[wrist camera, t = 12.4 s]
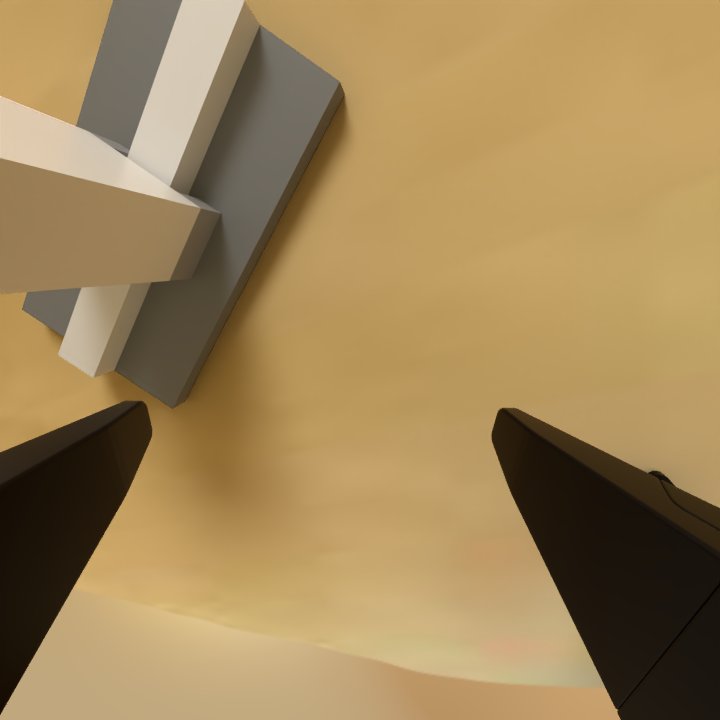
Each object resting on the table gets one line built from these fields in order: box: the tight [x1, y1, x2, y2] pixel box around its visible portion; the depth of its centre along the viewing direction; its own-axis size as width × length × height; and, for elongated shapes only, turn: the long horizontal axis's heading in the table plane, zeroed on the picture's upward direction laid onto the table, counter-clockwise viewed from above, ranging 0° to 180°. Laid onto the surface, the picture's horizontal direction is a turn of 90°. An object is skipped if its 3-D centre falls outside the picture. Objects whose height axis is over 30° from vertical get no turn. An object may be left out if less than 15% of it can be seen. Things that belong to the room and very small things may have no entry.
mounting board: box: [22, 0, 345, 409], centre depth 18 cm, size 20×11×3 cm, turn 147°
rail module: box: [0, 96, 221, 294], centre depth 13 cm, size 6×4×12 cm, turn 56°
